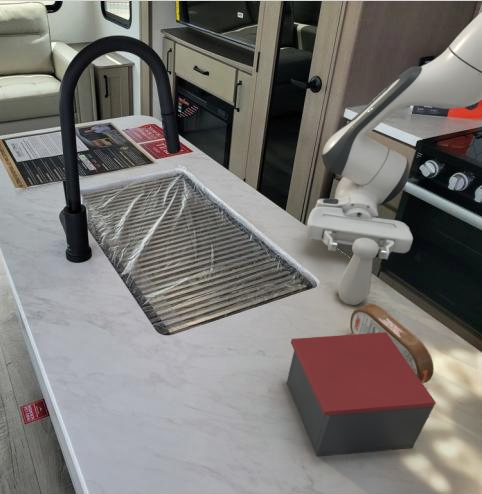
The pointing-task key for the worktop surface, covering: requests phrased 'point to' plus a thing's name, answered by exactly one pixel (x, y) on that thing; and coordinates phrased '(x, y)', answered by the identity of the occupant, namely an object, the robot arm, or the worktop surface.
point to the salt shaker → (358, 272)
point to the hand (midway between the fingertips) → (358, 251)
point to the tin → (394, 337)
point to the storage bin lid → (359, 374)
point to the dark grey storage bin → (353, 422)
